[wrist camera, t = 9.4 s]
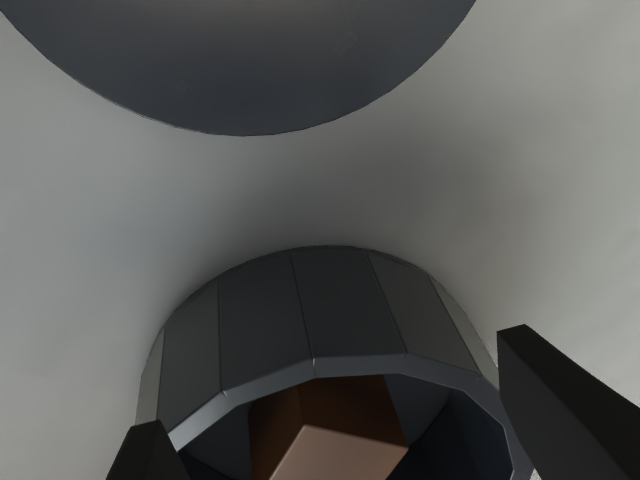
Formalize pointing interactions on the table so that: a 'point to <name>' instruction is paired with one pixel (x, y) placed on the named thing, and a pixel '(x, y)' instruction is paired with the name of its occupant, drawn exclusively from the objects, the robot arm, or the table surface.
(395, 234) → the table surface
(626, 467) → the robot arm
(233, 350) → the pot
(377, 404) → the block
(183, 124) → the lid
